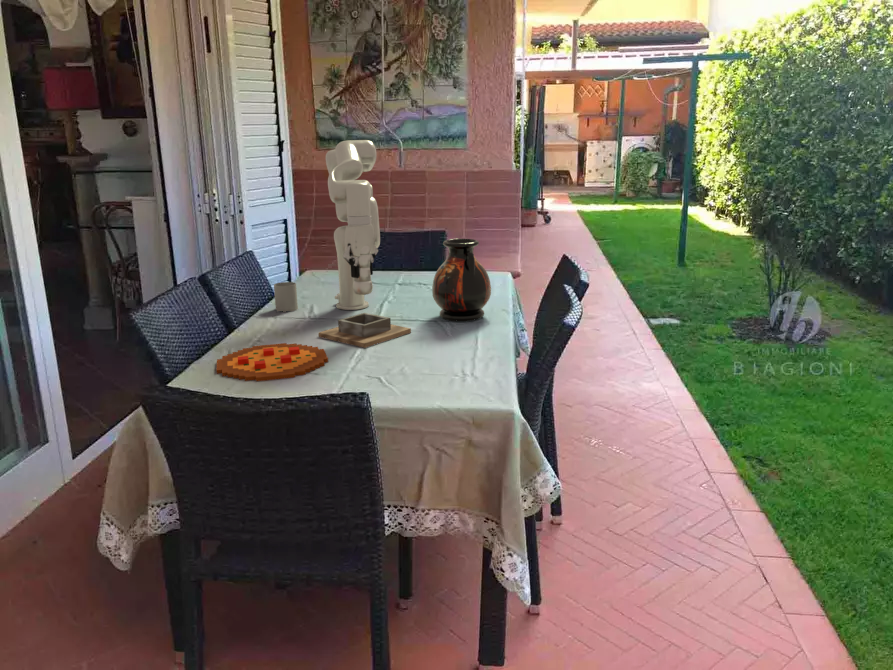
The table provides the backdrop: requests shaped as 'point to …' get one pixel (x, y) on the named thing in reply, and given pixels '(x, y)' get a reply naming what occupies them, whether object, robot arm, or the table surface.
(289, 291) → the cup
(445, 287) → the amphora vase
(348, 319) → the collar board
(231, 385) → the table surface
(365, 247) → the plastic bottle
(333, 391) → the table surface
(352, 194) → the robot arm
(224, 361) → the pizza
